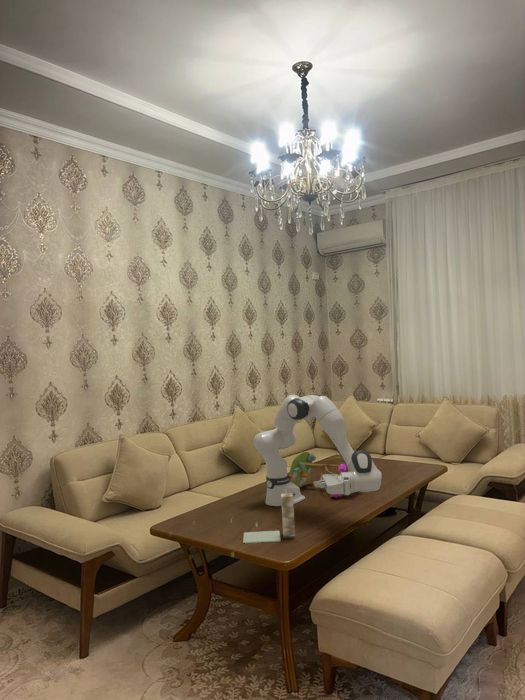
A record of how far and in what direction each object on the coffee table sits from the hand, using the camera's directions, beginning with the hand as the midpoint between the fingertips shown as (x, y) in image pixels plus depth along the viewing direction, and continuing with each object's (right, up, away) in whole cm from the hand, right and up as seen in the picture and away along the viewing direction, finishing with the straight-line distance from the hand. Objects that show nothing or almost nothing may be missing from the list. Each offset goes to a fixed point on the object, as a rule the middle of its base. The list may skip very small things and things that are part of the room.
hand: (313, 484), depth 230 cm
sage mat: (-23, -23, 0) cm, 33 cm away
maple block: (-11, -23, 0) cm, 25 cm away
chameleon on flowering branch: (+14, -21, +65) cm, 70 cm away
